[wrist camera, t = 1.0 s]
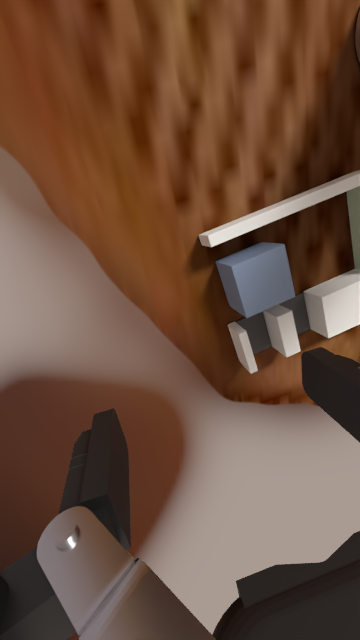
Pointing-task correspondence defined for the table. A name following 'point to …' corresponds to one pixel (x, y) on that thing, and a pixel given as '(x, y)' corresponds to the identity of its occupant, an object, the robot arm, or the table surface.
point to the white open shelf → (312, 304)
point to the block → (256, 278)
